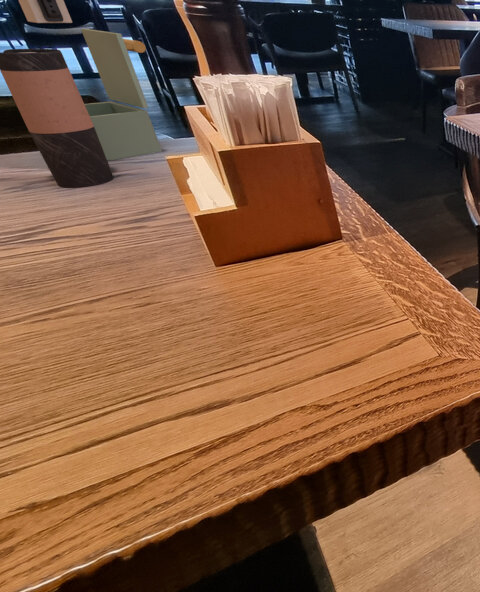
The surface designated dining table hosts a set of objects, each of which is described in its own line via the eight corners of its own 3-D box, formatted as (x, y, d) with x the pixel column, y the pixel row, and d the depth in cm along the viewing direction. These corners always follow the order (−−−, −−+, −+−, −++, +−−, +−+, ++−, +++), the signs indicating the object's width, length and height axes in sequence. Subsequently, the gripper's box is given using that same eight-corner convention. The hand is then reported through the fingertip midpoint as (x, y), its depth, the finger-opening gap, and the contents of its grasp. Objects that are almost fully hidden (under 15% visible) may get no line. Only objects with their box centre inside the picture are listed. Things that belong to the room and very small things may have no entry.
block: (37, 22, 86) (23, -9, 83) (27, 21, 88) (13, -10, 85) (72, 22, 89) (60, -8, 87) (62, 21, 91) (49, -9, 89)
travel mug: (124, 180, 89) (70, 51, 79) (66, 191, 83) (1, 54, 73) (103, 172, 92) (49, 47, 82) (47, 182, 86) (-19, 49, 77)
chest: (89, 170, 92) (66, 119, 88) (57, 157, 99) (34, 108, 95) (164, 157, 101) (147, 110, 97) (130, 146, 108) (112, 101, 103)
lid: (115, 33, 90) (151, 33, 94) (80, 28, 97) (115, 28, 101) (143, 108, 96) (176, 104, 100) (109, 99, 103) (140, 96, 107)
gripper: (-55, -107, 80) (4, 18, 88) (-25, -113, 74) (35, 23, 82) (12, -99, 86) (61, 18, 94) (45, -104, 79) (95, 22, 88)
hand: (49, 20), depth 88 cm, fingers closed on block, 4 cm apart
